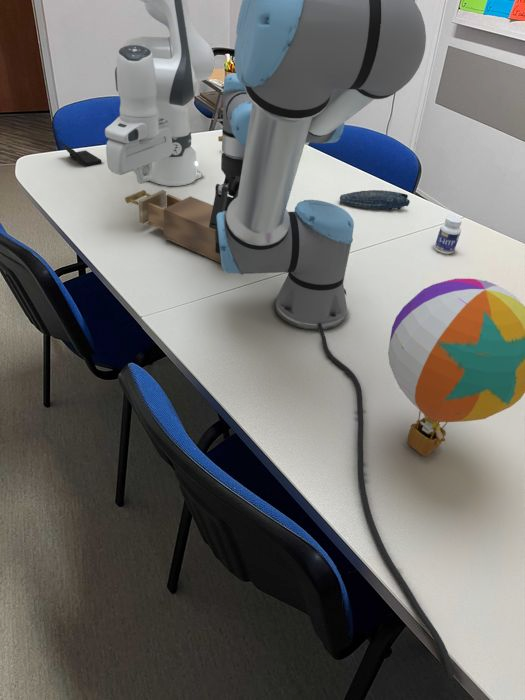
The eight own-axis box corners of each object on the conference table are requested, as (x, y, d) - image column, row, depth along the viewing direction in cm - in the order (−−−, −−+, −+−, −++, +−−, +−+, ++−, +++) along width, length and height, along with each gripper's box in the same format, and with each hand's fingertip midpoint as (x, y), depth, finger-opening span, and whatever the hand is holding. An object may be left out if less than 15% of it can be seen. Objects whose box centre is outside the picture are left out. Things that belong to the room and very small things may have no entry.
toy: (336, 437, 84) (375, 278, 66) (409, 388, 95) (460, 239, 76) (438, 521, 73) (519, 358, 55) (507, 455, 84) (595, 300, 65)
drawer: (122, 215, 136) (120, 193, 132) (146, 204, 143) (145, 182, 139) (200, 249, 128) (201, 226, 124) (222, 236, 134) (223, 214, 130)
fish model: (408, 214, 157) (412, 198, 153) (339, 207, 158) (341, 191, 154) (406, 206, 162) (410, 190, 159) (339, 199, 163) (341, 183, 160)
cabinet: (163, 238, 132) (163, 209, 126) (189, 224, 139) (190, 196, 134) (231, 268, 125) (233, 238, 119) (254, 251, 132) (258, 223, 127)
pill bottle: (433, 251, 139) (442, 220, 133) (435, 243, 143) (444, 213, 137) (453, 256, 138) (464, 225, 132) (454, 247, 142) (465, 217, 136)
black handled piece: (106, 156, 172) (85, 134, 163) (94, 173, 170) (73, 152, 162) (85, 152, 178) (64, 130, 170) (74, 169, 177) (52, 148, 168)
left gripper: (158, 113, 132) (160, 167, 141) (99, 131, 118) (106, 189, 127) (177, 119, 130) (179, 173, 139) (119, 137, 116) (125, 197, 125)
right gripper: (252, 137, 123) (246, 224, 137) (192, 162, 107) (193, 257, 121) (279, 145, 120) (271, 232, 134) (222, 172, 104) (219, 268, 118)
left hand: (143, 181), depth 133 cm, fingers closed
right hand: (234, 244), depth 127 cm, fingers closed on cabinet, 10 cm apart
